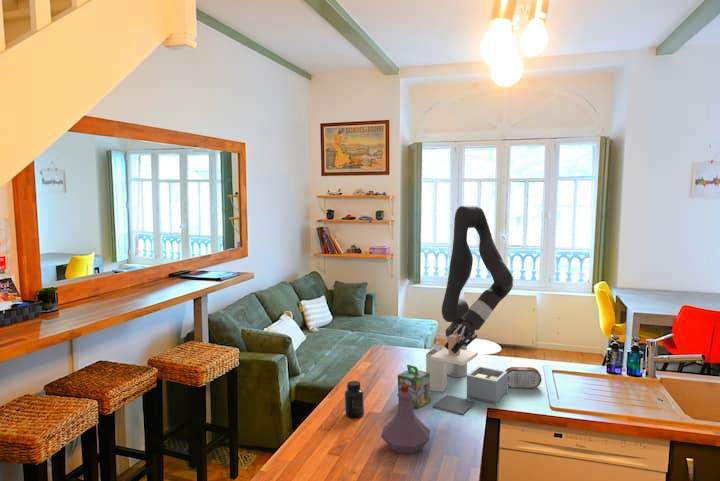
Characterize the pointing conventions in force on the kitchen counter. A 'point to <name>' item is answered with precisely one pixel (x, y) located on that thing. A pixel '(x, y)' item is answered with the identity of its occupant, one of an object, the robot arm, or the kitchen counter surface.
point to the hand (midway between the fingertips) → (449, 349)
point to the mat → (454, 404)
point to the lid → (450, 357)
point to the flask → (405, 427)
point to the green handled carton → (416, 385)
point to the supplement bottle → (354, 400)
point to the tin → (523, 377)
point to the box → (487, 384)
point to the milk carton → (436, 370)
